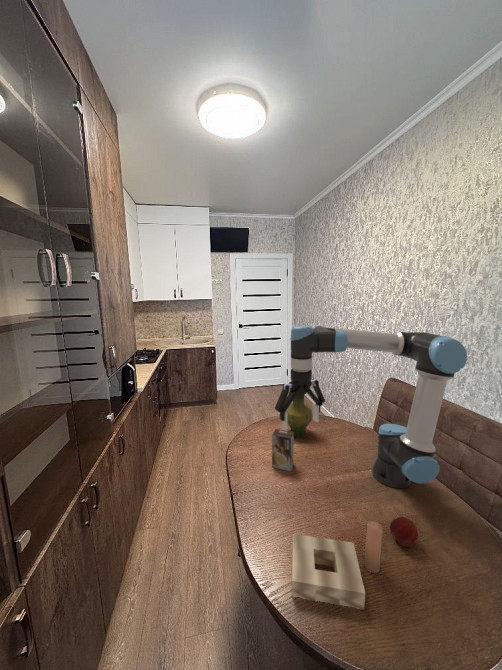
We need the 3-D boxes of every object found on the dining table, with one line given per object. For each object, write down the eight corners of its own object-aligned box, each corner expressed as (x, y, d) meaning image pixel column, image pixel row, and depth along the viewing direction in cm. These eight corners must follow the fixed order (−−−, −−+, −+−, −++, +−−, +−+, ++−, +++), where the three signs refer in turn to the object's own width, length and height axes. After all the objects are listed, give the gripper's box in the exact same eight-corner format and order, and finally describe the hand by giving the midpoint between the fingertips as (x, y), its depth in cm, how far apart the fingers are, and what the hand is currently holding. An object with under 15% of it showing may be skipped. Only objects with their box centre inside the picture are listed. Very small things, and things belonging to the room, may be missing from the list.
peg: (377, 560, 80) (380, 522, 78) (381, 574, 76) (384, 534, 74) (362, 558, 80) (365, 520, 79) (366, 572, 77) (369, 532, 75)
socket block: (352, 557, 81) (353, 542, 80) (364, 610, 67) (365, 593, 67) (292, 547, 84) (292, 533, 83) (291, 597, 70) (292, 580, 69)
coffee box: (294, 463, 126) (294, 431, 124) (290, 471, 120) (291, 438, 118) (275, 459, 129) (275, 428, 127) (271, 467, 123) (271, 434, 121)
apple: (416, 557, 81) (419, 534, 80) (388, 544, 85) (389, 522, 84) (416, 538, 87) (419, 516, 86) (390, 527, 91) (391, 506, 90)
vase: (282, 426, 161) (283, 379, 157) (309, 427, 161) (310, 379, 156) (284, 441, 145) (285, 388, 141) (314, 442, 144) (316, 388, 140)
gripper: (322, 362, 104) (321, 414, 107) (265, 370, 94) (265, 427, 97) (335, 367, 97) (334, 422, 100) (275, 376, 87) (275, 436, 90)
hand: (300, 424), depth 99 cm, fingers open, 13 cm apart
